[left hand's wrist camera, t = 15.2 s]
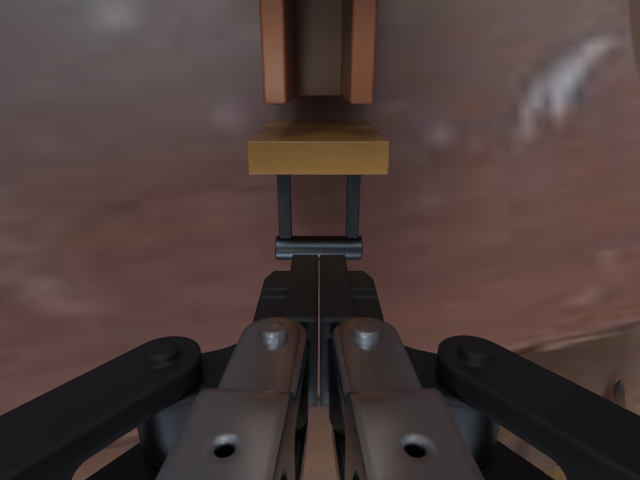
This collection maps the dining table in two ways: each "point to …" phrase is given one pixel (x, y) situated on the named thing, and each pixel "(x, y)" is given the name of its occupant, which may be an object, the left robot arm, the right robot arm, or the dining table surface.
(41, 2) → the dining table surface
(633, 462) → the left robot arm
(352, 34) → the drawer
